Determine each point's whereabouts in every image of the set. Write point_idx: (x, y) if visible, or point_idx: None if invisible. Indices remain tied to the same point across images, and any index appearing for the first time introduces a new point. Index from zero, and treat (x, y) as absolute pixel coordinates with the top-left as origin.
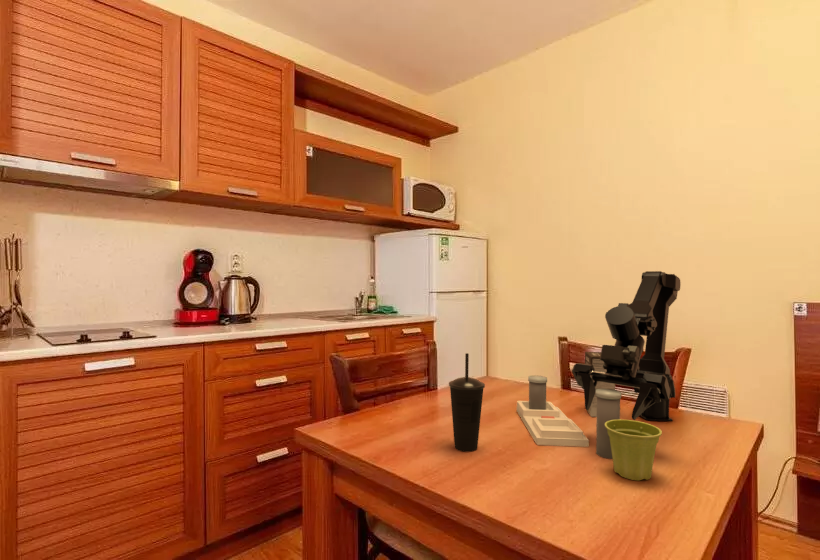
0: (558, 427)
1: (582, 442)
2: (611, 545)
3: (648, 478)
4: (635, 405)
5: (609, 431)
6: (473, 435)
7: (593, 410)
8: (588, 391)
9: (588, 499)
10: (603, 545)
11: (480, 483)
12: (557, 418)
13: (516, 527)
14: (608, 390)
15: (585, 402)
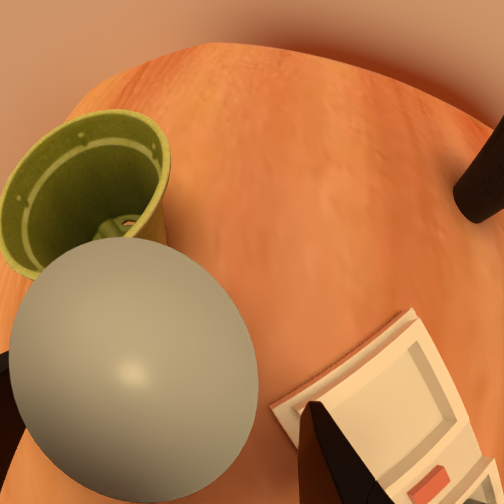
0: (391, 457)
1: (290, 396)
2: (177, 57)
3: (93, 234)
4: (1, 368)
5: (155, 141)
6: (469, 169)
7: None
8: (347, 496)
9: (209, 108)
10: (184, 54)
11: (364, 97)
12: None
13: (272, 47)
14: (116, 431)
15: (332, 423)
